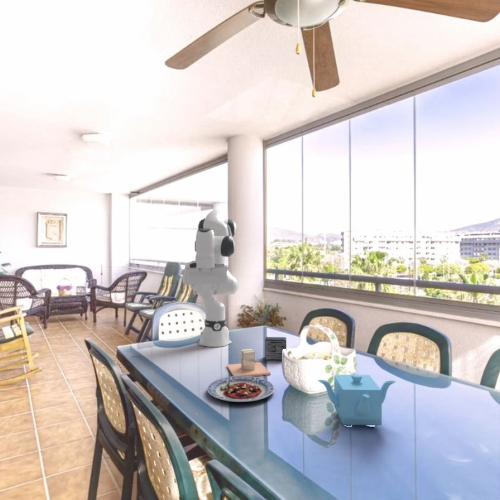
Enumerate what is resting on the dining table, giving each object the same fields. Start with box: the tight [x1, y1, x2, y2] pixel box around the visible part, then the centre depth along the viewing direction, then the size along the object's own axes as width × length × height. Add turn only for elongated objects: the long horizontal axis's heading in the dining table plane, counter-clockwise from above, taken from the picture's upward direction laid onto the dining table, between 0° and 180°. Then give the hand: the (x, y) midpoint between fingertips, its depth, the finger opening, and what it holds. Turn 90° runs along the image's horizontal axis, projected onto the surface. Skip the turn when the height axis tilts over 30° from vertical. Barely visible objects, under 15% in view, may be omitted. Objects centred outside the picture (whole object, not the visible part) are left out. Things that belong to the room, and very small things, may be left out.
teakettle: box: [317, 373, 397, 426], centre depth 126 cm, size 19×19×15 cm
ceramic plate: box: [207, 375, 276, 403], centre depth 150 cm, size 26×26×3 cm
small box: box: [264, 336, 287, 362], centre depth 194 cm, size 11×6×10 cm, turn 84°
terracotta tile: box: [226, 361, 271, 377], centre depth 176 cm, size 16×16×1 cm
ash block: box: [240, 348, 256, 371], centre depth 176 cm, size 5×5×8 cm
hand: (205, 294), depth 178 cm, fingers open, 8 cm apart
